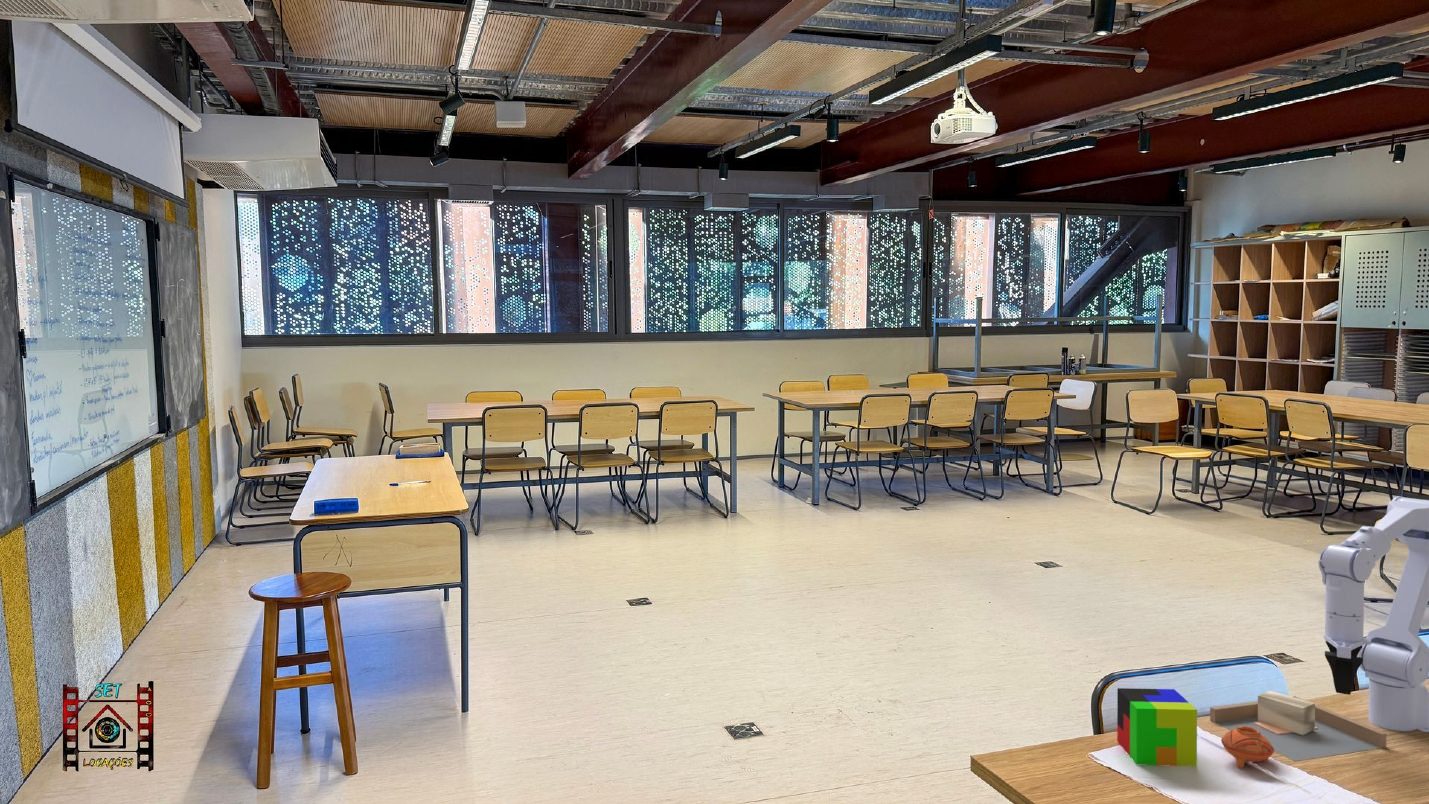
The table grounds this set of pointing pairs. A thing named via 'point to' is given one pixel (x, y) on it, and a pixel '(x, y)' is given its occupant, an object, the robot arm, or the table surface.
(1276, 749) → the tray
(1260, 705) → the birch block
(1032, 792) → the table surface
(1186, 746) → the puzzle toy
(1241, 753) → the pot
